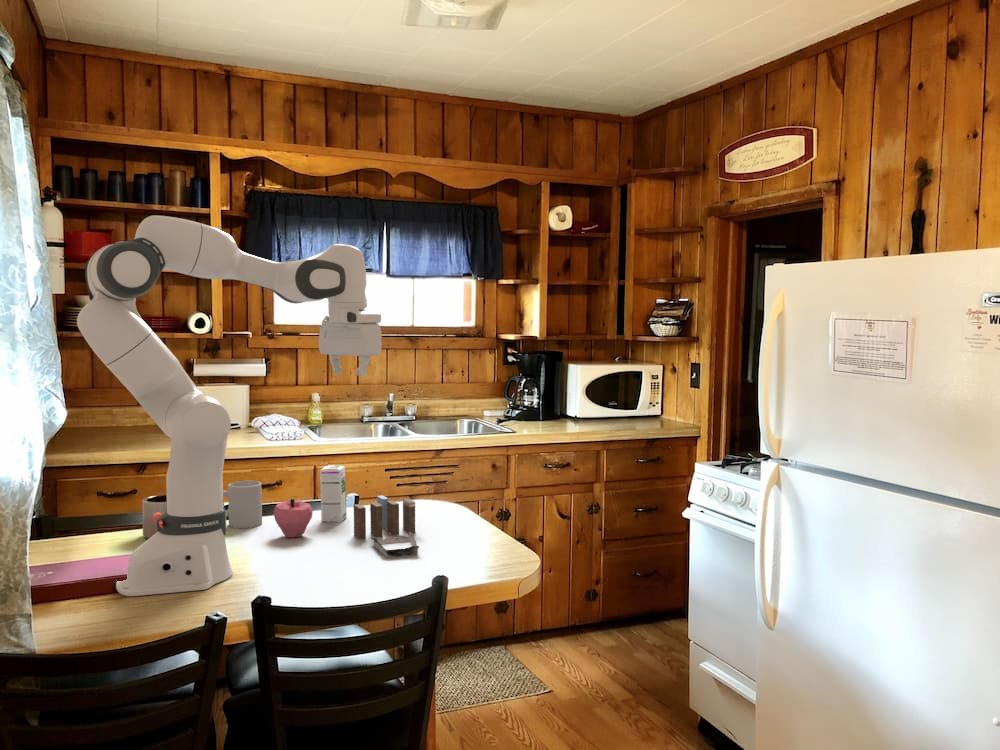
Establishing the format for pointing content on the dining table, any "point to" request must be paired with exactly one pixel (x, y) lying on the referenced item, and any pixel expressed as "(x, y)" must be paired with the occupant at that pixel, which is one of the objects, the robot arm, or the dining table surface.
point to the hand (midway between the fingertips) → (349, 374)
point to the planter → (152, 513)
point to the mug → (244, 504)
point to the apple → (293, 517)
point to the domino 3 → (383, 509)
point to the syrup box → (333, 493)
